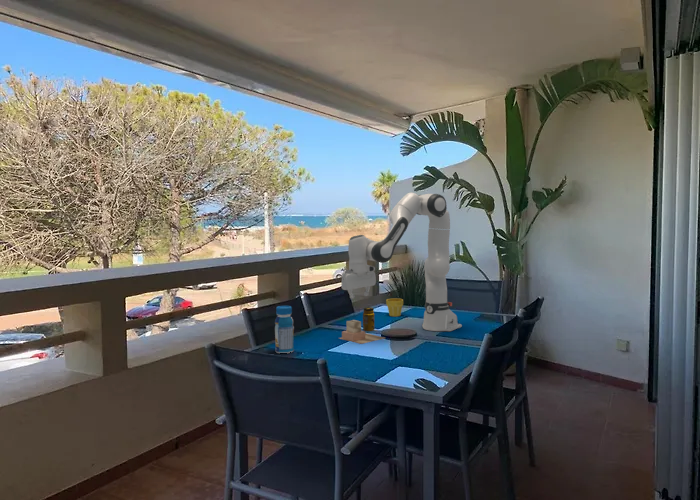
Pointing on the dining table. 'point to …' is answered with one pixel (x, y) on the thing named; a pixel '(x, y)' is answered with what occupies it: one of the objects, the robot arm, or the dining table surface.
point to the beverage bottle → (284, 330)
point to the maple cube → (353, 326)
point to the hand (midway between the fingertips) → (359, 297)
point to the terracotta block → (353, 336)
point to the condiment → (368, 319)
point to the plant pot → (394, 306)
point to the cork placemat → (367, 339)
